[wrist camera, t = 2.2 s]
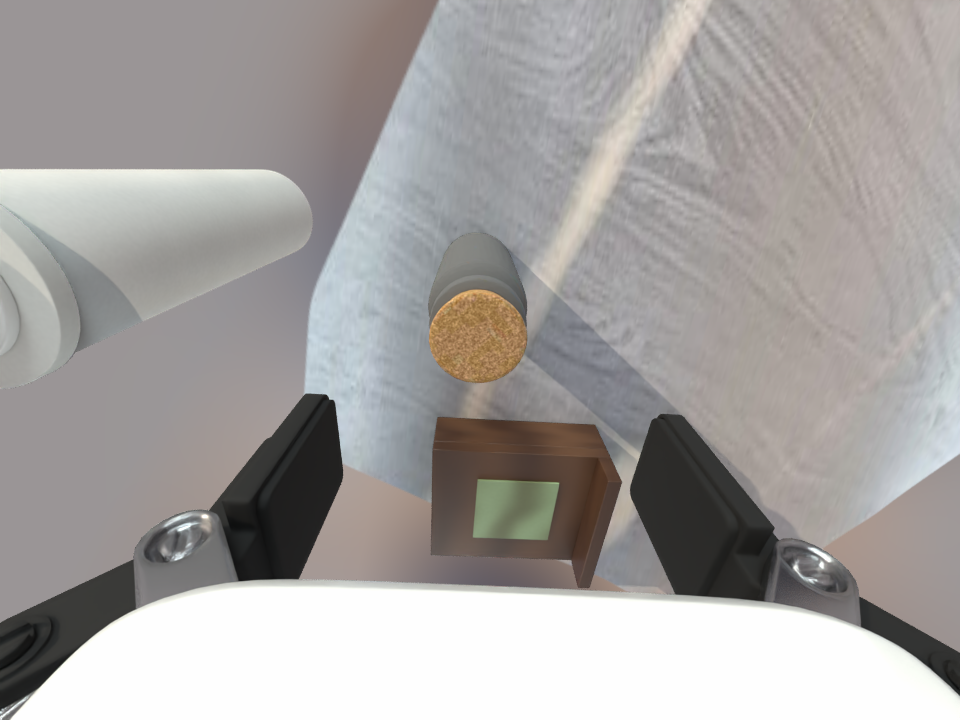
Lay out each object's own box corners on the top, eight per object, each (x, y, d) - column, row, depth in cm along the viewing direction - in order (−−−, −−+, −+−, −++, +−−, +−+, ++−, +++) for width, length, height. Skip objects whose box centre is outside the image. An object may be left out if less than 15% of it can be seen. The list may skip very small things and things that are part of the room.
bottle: (429, 250, 31) (394, 311, 18) (496, 219, 30) (513, 259, 17) (459, 313, 33) (449, 409, 20) (522, 286, 32) (556, 369, 19)
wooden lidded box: (435, 516, 44) (427, 583, 37) (437, 416, 38) (428, 473, 31) (571, 521, 45) (589, 588, 38) (595, 424, 39) (622, 482, 32)
